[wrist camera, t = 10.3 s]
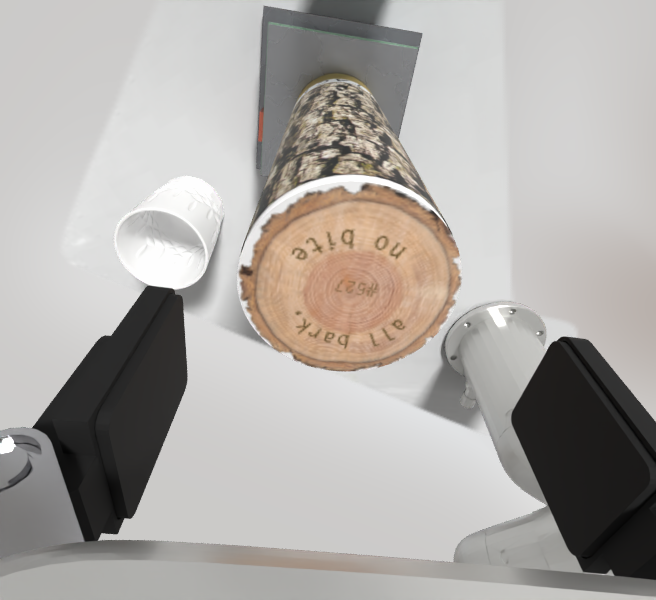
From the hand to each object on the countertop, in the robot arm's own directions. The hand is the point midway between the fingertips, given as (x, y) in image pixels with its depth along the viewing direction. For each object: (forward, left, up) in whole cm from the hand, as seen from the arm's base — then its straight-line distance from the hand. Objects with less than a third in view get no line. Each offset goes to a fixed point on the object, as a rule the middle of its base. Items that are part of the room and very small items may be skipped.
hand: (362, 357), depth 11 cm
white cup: (-11, +14, -34) cm, 38 cm away
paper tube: (0, 0, -28) cm, 28 cm away
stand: (0, 0, -34) cm, 34 cm away
